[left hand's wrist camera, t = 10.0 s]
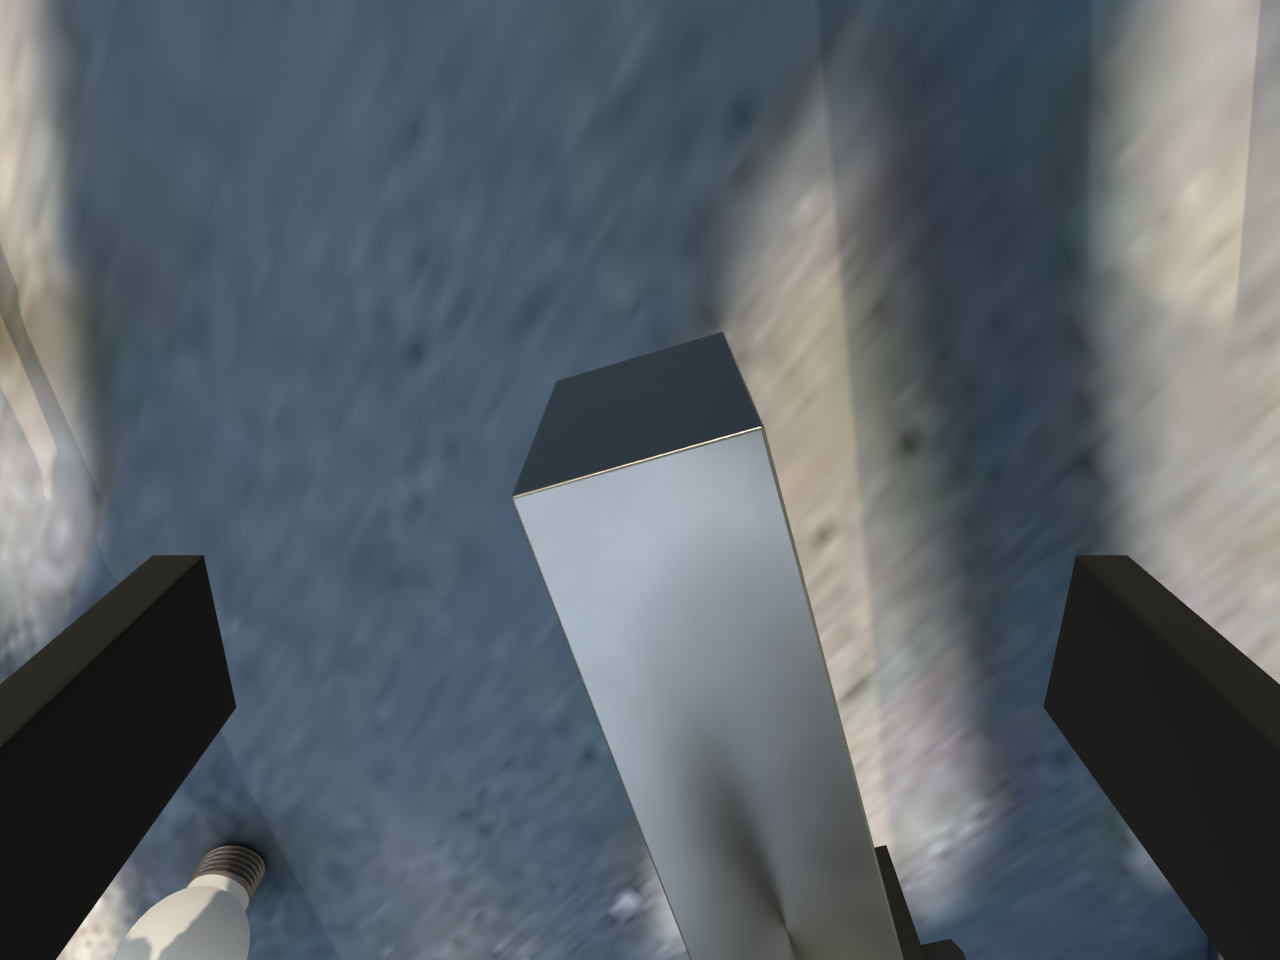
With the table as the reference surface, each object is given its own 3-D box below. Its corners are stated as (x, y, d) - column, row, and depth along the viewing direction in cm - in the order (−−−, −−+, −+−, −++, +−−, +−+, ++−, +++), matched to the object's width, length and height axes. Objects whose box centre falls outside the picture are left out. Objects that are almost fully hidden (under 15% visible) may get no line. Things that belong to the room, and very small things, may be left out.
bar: (555, 381, 23) (509, 497, 16) (723, 330, 23) (764, 425, 15) (763, 977, 32) (801, 1247, 24) (890, 951, 31) (971, 1218, 23)
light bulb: (250, 814, 52) (156, 977, 42) (307, 889, 55) (230, 1061, 44) (159, 846, 53) (44, 1013, 43) (218, 918, 55) (123, 1093, 45)
